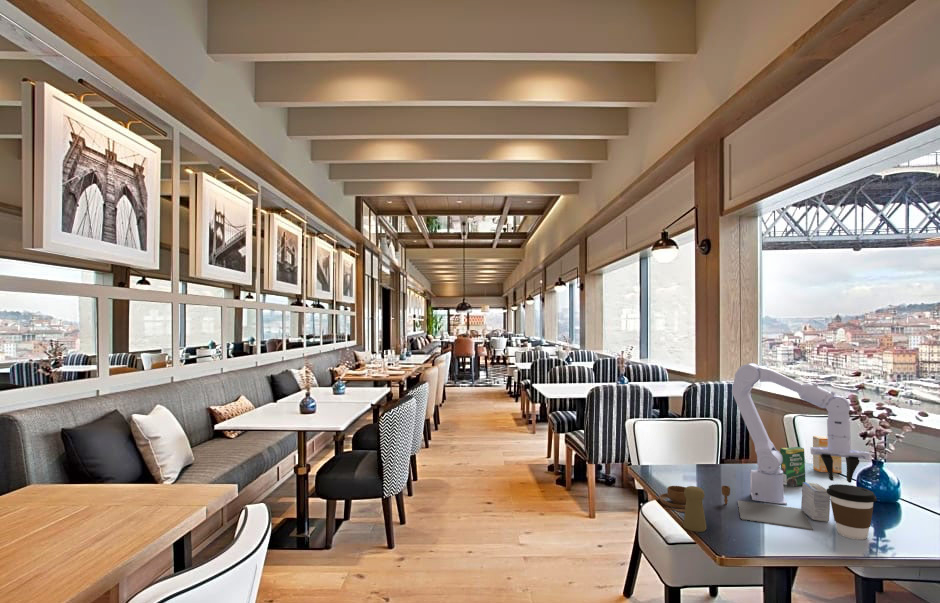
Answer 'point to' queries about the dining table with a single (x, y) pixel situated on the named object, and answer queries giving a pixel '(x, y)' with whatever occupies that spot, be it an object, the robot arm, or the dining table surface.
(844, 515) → the coffee cup
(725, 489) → the place setting
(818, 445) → the supplement box
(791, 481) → the coffee box
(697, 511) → the cork
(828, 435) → the robot arm
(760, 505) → the rubber mat
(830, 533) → the dining table surface
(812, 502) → the medicine box
